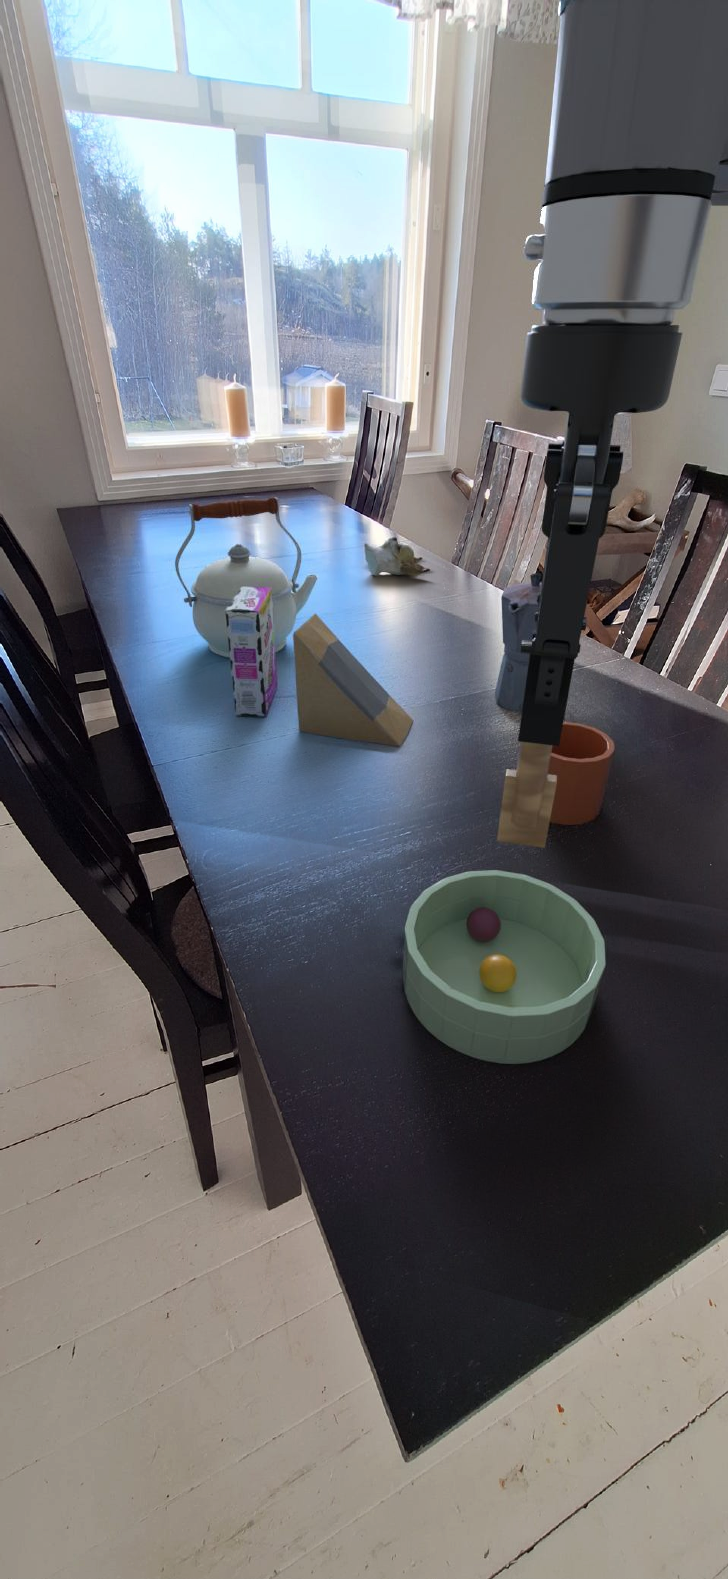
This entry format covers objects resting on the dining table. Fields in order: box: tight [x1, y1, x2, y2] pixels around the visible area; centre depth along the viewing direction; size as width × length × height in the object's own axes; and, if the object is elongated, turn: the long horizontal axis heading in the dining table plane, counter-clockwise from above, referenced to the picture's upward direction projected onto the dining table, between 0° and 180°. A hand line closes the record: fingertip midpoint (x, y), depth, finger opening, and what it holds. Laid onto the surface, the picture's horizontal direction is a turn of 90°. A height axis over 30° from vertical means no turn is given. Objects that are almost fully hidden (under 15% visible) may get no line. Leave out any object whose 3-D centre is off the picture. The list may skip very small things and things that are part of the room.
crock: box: [548, 721, 615, 826], centre depth 81 cm, size 9×9×10 cm
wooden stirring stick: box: [496, 742, 557, 849], centre depth 47 cm, size 4×2×21 cm, turn 76°
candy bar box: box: [225, 587, 278, 718], centre depth 103 cm, size 11×5×16 cm, turn 177°
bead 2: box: [479, 954, 517, 993], centre depth 60 cm, size 3×3×3 cm
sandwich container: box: [292, 612, 414, 747], centre depth 97 cm, size 9×15×15 cm, turn 73°
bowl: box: [401, 869, 607, 1065], centre depth 60 cm, size 17×17×6 cm
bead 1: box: [466, 907, 501, 942], centre depth 65 cm, size 3×3×3 cm
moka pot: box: [494, 572, 543, 713], centre depth 103 cm, size 10×15×20 cm, turn 145°
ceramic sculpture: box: [363, 536, 431, 577], centre depth 161 cm, size 11×9×15 cm
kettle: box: [174, 496, 319, 659], centre depth 121 cm, size 25×18×25 cm
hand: (539, 730), depth 48 cm, fingers closed on wooden stirring stick, 2 cm apart
